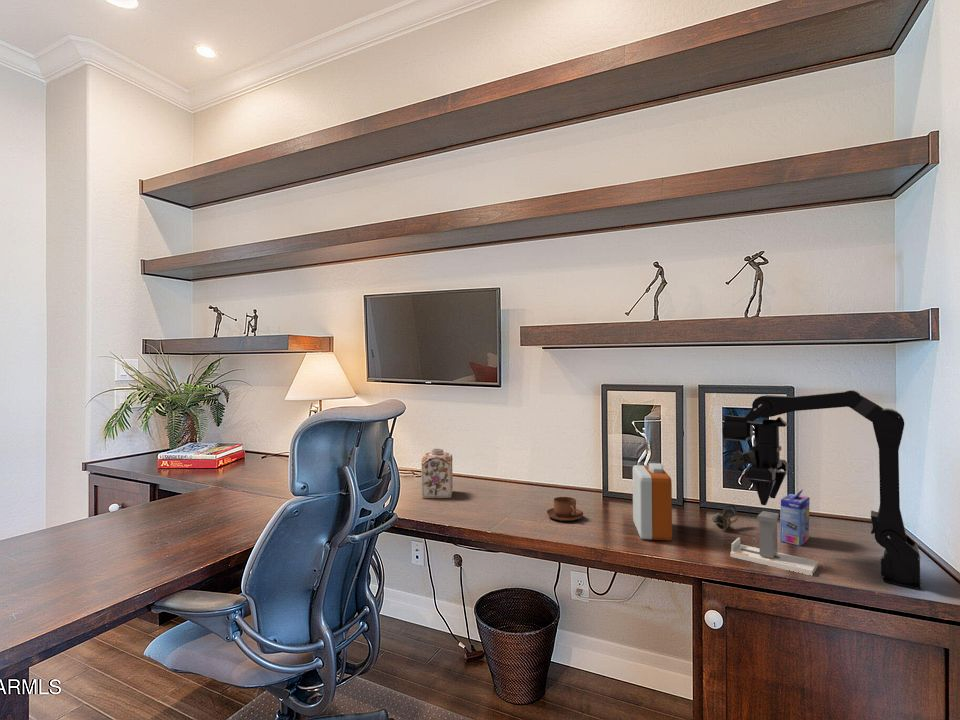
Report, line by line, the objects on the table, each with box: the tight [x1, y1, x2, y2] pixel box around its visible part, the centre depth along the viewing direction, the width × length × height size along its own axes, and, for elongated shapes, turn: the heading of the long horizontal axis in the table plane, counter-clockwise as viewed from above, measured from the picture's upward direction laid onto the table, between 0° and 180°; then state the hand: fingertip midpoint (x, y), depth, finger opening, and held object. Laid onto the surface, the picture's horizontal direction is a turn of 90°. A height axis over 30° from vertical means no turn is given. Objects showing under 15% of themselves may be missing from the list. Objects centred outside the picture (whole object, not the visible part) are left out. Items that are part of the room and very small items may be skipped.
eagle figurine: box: [711, 503, 739, 533], centre depth 153 cm, size 8×8×10 cm
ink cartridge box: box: [779, 489, 811, 547], centre depth 142 cm, size 10×6×14 cm, turn 135°
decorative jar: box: [420, 447, 454, 499], centre depth 195 cm, size 12×12×18 cm
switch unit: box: [730, 537, 819, 577], centre depth 127 cm, size 18×8×3 cm, turn 47°
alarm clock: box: [632, 462, 673, 541], centre depth 151 cm, size 18×9×21 cm, turn 170°
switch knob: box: [757, 510, 780, 559], centre depth 127 cm, size 4×6×10 cm, turn 137°
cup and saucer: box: [546, 496, 584, 522], centre depth 164 cm, size 12×12×6 cm
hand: (768, 501), depth 131 cm, fingers open, 9 cm apart
